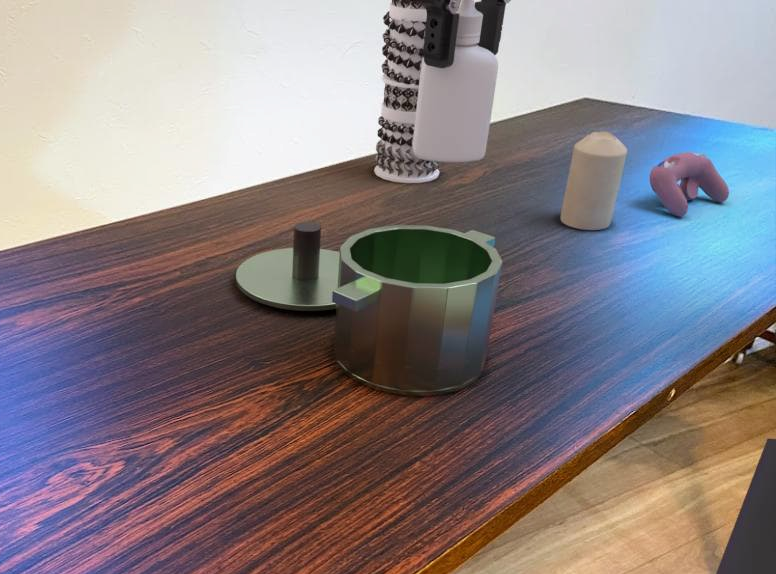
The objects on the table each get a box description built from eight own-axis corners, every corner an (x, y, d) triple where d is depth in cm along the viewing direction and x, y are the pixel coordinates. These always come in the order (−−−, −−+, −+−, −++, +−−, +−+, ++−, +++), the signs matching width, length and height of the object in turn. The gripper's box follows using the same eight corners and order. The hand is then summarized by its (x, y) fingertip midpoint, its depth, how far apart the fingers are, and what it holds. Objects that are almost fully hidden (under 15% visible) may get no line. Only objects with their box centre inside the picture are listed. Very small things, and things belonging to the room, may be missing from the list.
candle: (613, 232, 101) (634, 143, 96) (562, 229, 102) (580, 140, 97) (606, 214, 106) (625, 128, 100) (557, 212, 107) (574, 126, 101)
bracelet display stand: (407, 189, 114) (429, -31, 100) (356, 170, 120) (371, -39, 106) (457, 175, 118) (484, -37, 105) (405, 157, 124) (425, -45, 111)
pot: (530, 349, 79) (550, 246, 74) (399, 427, 68) (412, 314, 63) (414, 302, 87) (425, 206, 81) (281, 366, 76) (284, 261, 71)
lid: (403, 287, 89) (409, 227, 86) (307, 331, 82) (310, 267, 78) (302, 247, 98) (305, 191, 94) (207, 284, 90) (206, 224, 87)
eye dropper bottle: (424, 144, 75) (443, -14, 69) (490, 155, 73) (516, -8, 66) (404, 157, 72) (421, -7, 65) (472, 169, 69) (497, 0, 63)
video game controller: (697, 206, 113) (688, 150, 111) (733, 199, 109) (723, 141, 107) (649, 222, 108) (638, 164, 107) (684, 216, 104) (674, 155, 103)
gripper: (509, -209, 65) (475, 40, 75) (379, -214, 57) (359, 66, 67) (605, -211, 61) (556, 55, 70) (478, -217, 53) (441, 85, 62)
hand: (460, 59), depth 68 cm, fingers closed on eye dropper bottle, 5 cm apart
